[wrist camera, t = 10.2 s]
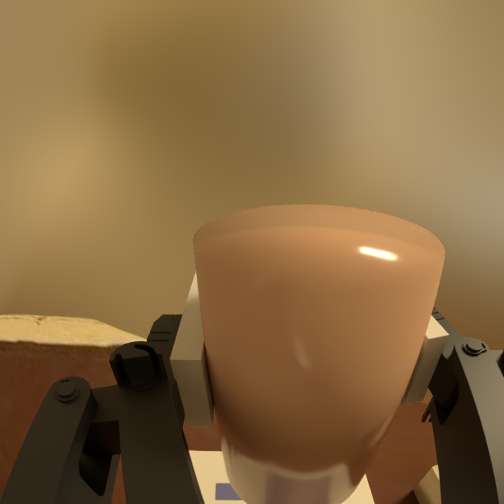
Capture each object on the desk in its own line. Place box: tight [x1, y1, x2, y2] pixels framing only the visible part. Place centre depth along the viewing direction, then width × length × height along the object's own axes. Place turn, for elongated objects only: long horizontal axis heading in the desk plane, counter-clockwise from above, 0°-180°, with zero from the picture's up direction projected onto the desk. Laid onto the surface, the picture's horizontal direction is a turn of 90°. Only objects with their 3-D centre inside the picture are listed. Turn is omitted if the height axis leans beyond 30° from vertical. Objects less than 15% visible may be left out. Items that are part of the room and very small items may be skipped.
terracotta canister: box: [193, 204, 445, 504], centre depth 9 cm, size 6×6×10 cm
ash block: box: [413, 465, 441, 504], centre depth 13 cm, size 5×5×4 cm
